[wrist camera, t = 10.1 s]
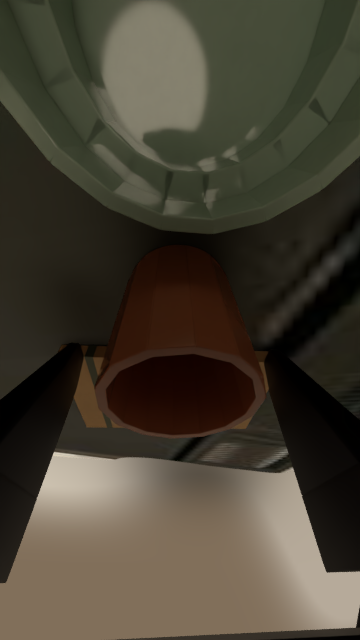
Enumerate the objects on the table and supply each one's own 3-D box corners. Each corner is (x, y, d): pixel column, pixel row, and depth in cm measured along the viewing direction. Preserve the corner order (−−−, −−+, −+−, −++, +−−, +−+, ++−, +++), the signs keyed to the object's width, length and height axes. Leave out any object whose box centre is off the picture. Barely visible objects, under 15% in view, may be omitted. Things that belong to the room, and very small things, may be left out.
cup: (241, 303, 15) (286, 414, 9) (163, 338, 17) (158, 448, 11) (199, 221, 12) (226, 313, 6) (107, 278, 14) (54, 390, 8)
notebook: (242, 418, 26) (245, 429, 25) (90, 416, 25) (87, 427, 24) (278, 350, 19) (284, 362, 18) (61, 343, 18) (54, 355, 17)
